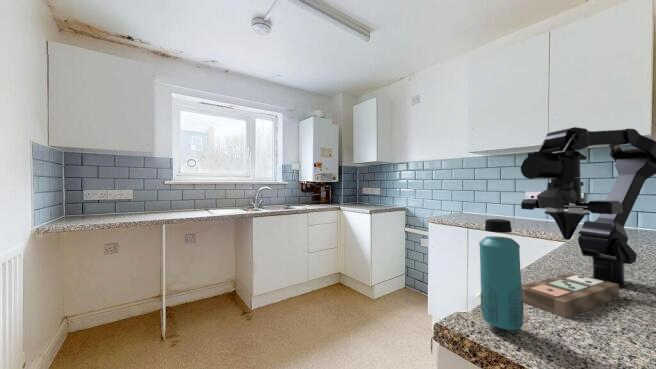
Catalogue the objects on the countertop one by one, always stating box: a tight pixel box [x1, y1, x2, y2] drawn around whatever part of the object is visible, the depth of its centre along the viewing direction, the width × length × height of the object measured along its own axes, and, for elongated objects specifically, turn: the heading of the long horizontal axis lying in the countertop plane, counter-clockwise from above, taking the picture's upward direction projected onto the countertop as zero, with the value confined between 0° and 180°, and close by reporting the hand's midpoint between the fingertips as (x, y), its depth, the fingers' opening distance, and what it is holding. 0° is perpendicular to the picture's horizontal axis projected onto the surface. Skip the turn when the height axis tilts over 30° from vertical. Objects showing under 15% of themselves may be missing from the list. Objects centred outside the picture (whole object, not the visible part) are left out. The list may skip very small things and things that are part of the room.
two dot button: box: [566, 274, 604, 287], centre depth 63 cm, size 5×5×3 cm
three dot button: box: [549, 280, 588, 292], centre depth 60 cm, size 5×5×3 cm
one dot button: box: [530, 284, 570, 298], centre depth 57 cm, size 5×5×3 cm
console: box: [521, 272, 620, 319], centre depth 60 cm, size 22×9×3 cm, turn 113°
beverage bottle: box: [478, 218, 525, 331], centre depth 48 cm, size 6×7×20 cm
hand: (567, 239), depth 67 cm, fingers closed
